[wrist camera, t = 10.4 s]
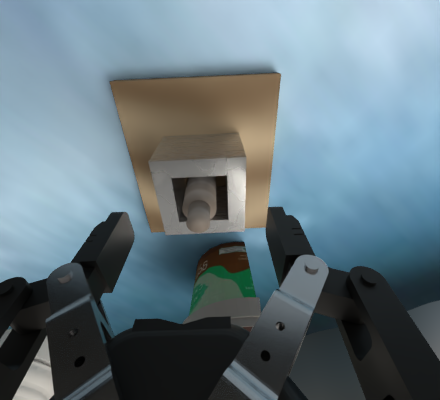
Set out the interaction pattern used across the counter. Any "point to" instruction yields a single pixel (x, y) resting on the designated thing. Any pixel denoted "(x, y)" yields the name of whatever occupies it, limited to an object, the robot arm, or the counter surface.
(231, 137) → the grey square sleeve
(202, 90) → the block
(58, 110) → the counter surface
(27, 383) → the honey pot
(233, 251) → the food container
